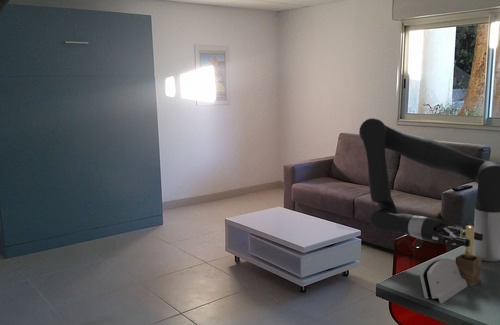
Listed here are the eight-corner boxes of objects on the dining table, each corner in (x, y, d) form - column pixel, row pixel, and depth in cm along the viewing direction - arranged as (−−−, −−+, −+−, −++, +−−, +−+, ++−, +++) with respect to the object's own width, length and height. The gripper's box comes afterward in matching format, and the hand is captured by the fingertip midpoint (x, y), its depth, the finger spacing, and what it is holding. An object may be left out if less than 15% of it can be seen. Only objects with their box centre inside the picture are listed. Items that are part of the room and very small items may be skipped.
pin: (465, 270, 142) (468, 224, 139) (473, 272, 140) (476, 226, 137) (462, 272, 140) (464, 227, 137) (469, 275, 139) (472, 229, 135)
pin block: (463, 275, 144) (464, 253, 143) (480, 281, 140) (481, 257, 139) (454, 280, 141) (455, 257, 140) (472, 286, 137) (473, 262, 136)
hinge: (441, 303, 127) (430, 268, 128) (425, 304, 130) (415, 269, 131) (468, 285, 137) (458, 253, 138) (453, 286, 141) (443, 254, 142)
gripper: (414, 222, 145) (464, 233, 132) (438, 213, 153) (488, 223, 141) (413, 244, 146) (463, 258, 133) (437, 234, 155) (486, 246, 142)
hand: (476, 240), depth 137 cm, fingers open, 7 cm apart
